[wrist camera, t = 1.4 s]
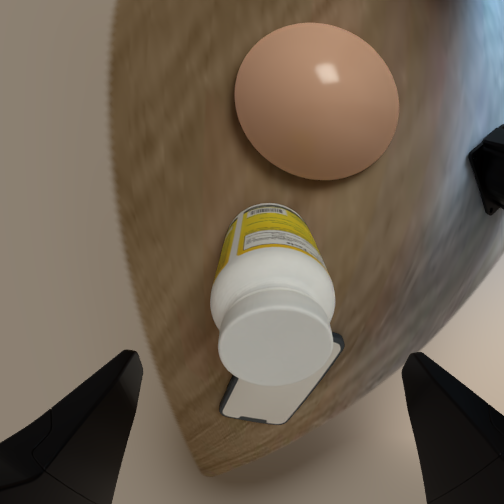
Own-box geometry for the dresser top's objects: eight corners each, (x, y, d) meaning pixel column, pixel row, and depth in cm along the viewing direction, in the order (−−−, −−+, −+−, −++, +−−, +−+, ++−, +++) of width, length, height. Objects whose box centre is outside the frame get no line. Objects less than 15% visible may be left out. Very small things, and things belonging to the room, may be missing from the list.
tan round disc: (419, 126, 16) (424, 126, 15) (303, 208, 19) (305, 211, 19) (329, 3, 13) (331, -1, 12) (201, 86, 16) (199, 84, 15)
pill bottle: (260, 291, 22) (260, 410, 13) (208, 235, 20) (166, 341, 11) (326, 248, 21) (373, 357, 11) (277, 183, 19) (297, 256, 9)
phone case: (259, 310, 24) (217, 405, 31) (260, 321, 23) (215, 415, 29) (346, 330, 25) (284, 416, 32) (351, 341, 24) (284, 426, 30)
